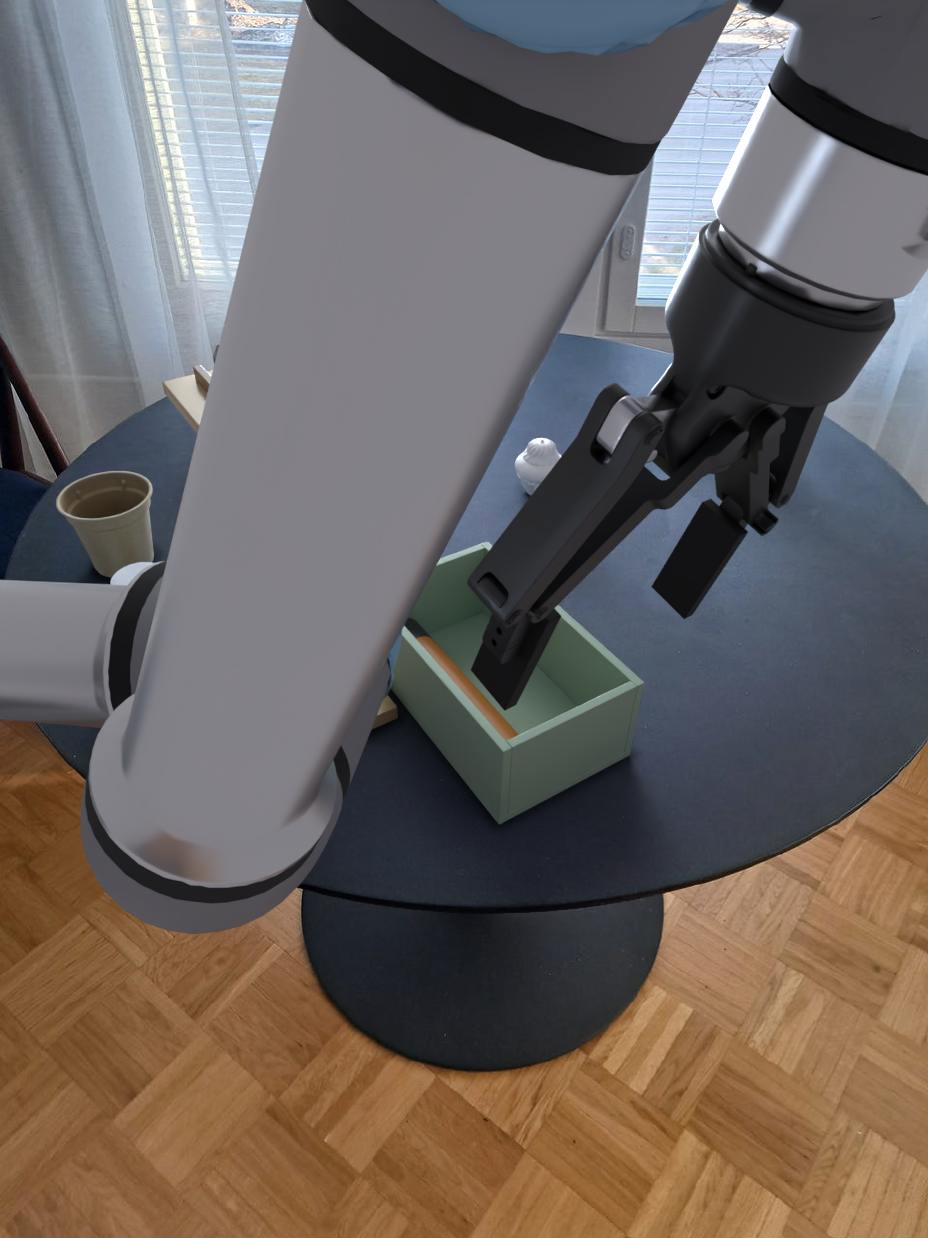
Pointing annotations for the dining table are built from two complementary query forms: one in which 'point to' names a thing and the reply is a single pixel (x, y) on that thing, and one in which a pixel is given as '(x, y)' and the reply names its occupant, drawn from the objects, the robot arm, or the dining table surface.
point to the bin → (545, 713)
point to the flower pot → (110, 518)
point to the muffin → (536, 463)
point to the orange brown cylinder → (461, 680)
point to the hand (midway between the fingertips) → (589, 641)
